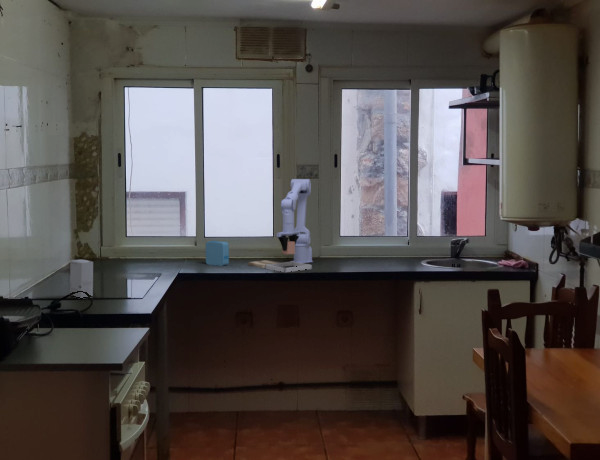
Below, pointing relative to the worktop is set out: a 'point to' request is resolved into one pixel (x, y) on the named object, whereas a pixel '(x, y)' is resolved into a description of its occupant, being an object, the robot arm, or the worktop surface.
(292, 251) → the terracotta block
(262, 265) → the board
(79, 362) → the worktop surface
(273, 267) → the tray
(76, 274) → the skincare box
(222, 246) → the data package
